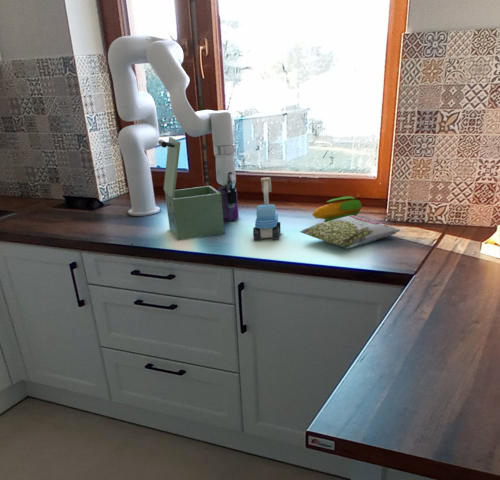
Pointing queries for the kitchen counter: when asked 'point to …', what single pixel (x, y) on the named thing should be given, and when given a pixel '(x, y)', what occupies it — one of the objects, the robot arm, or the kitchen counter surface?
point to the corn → (338, 209)
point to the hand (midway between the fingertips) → (228, 200)
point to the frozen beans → (350, 231)
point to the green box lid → (171, 165)
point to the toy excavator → (266, 216)
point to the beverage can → (228, 205)
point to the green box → (195, 212)
